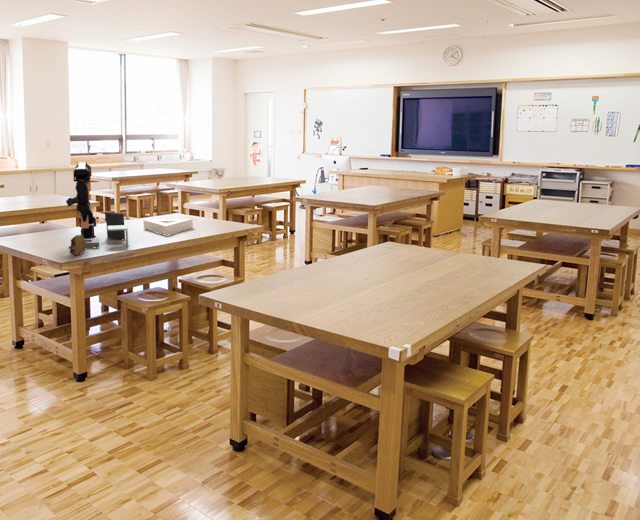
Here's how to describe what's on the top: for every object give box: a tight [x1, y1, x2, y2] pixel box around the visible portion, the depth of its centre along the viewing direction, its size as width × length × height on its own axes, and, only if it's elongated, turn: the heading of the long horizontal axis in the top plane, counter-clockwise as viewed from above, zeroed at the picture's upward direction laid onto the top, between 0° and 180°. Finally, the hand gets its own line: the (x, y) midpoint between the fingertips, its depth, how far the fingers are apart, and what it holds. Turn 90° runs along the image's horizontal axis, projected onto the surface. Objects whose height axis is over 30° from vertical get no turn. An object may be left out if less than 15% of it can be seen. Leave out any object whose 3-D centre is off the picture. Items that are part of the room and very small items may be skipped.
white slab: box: [143, 218, 194, 236], centre depth 389 cm, size 30×26×6 cm
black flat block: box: [104, 211, 126, 241], centre depth 357 cm, size 11×4×15 cm, turn 62°
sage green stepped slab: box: [108, 224, 129, 247], centre depth 340 cm, size 12×10×10 cm
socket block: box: [83, 238, 100, 249], centre depth 336 cm, size 12×12×3 cm
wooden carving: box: [68, 234, 86, 256], centre depth 315 cm, size 16×5×10 cm, turn 3°
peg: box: [79, 211, 90, 228], centre depth 334 cm, size 4×4×10 cm
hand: (84, 221), depth 334 cm, fingers closed on peg, 4 cm apart
